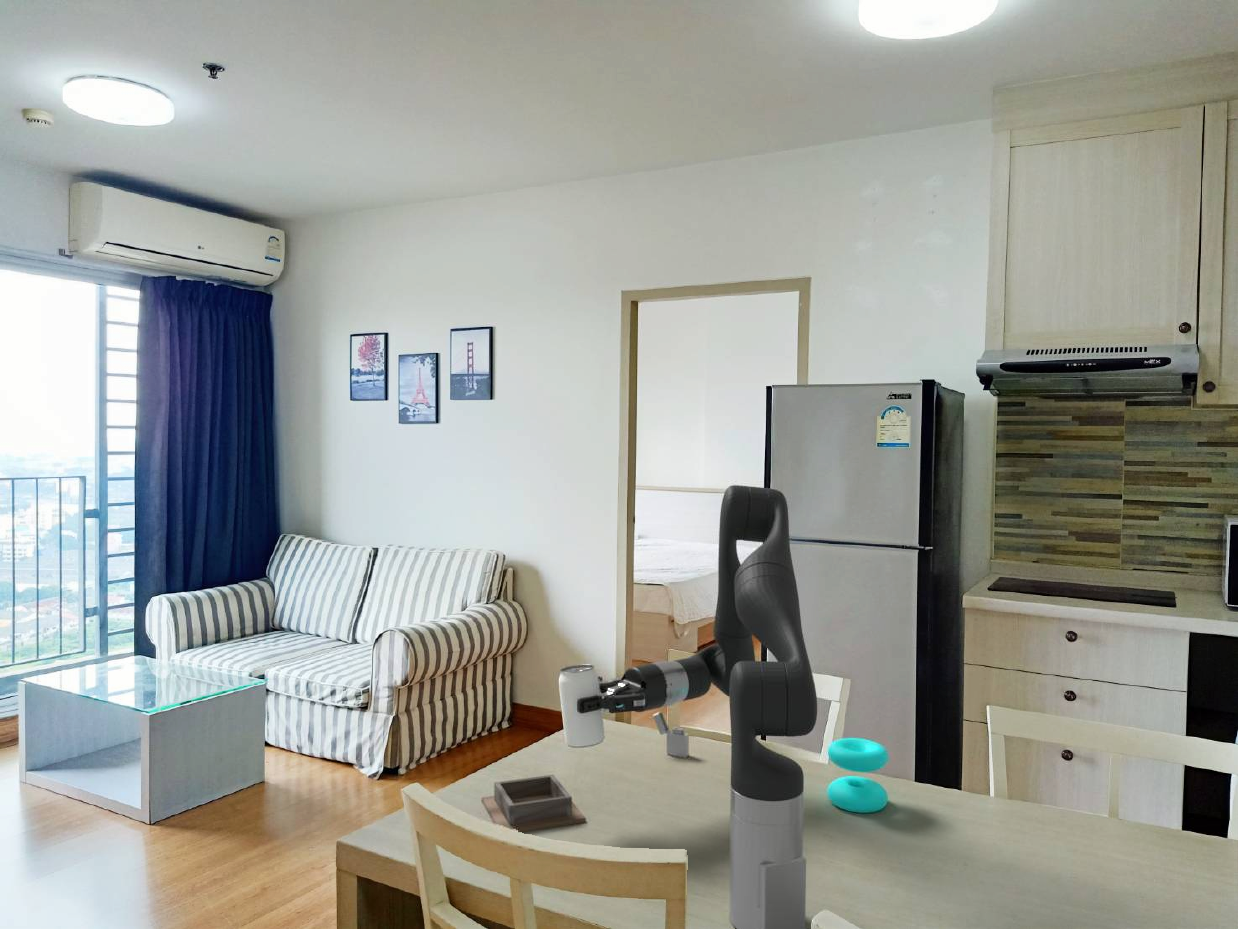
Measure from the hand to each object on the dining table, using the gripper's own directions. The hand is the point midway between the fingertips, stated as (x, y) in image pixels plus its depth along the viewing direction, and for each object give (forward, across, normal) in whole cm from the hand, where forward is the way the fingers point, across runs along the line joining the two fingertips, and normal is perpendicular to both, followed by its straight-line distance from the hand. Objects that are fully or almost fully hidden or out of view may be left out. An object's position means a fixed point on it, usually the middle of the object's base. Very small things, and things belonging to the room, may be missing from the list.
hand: (571, 703), depth 140 cm
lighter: (-34, -17, +20) cm, 43 cm away
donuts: (-45, +20, +20) cm, 53 cm away
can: (-3, 0, +7) cm, 8 cm away
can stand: (+3, -8, +20) cm, 21 cm away
